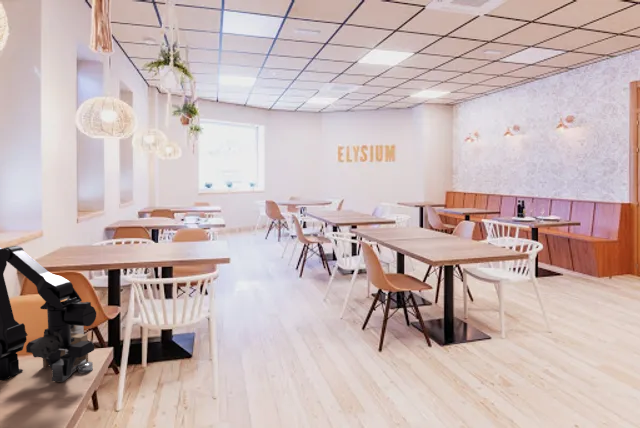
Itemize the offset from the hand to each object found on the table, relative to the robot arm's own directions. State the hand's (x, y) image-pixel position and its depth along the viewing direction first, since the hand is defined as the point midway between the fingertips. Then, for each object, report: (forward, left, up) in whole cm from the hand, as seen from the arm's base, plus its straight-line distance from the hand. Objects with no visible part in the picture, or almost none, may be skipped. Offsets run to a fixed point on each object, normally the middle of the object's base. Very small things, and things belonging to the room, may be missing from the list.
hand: (61, 374), depth 129 cm
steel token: (+2, +8, -2) cm, 8 cm away
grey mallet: (-1, +4, -1) cm, 5 cm away
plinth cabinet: (-7, +10, -2) cm, 12 cm away
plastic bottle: (-9, +17, -2) cm, 19 cm away
